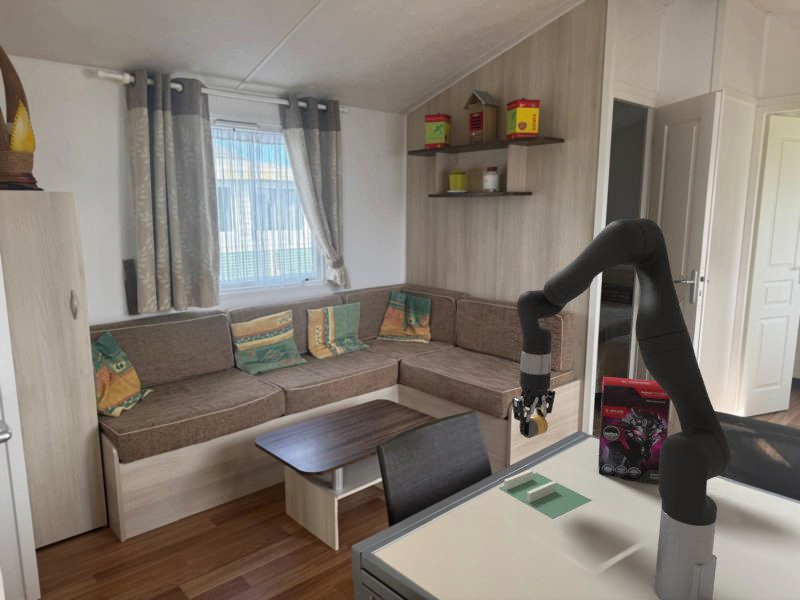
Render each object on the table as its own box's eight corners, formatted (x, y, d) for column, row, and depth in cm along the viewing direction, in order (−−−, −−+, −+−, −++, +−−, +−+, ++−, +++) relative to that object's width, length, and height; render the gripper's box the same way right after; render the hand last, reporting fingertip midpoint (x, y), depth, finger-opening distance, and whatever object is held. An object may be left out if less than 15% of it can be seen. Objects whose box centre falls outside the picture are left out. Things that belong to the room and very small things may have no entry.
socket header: (555, 491, 146) (556, 482, 146) (529, 502, 141) (529, 493, 140) (529, 478, 154) (530, 469, 153) (503, 488, 148) (504, 479, 147)
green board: (591, 502, 142) (591, 500, 142) (552, 521, 134) (552, 518, 134) (536, 475, 157) (536, 472, 157) (497, 490, 148) (498, 487, 148)
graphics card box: (597, 477, 156) (603, 382, 151) (596, 466, 163) (602, 375, 158) (664, 486, 151) (673, 389, 147) (660, 474, 158) (669, 381, 153)
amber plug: (546, 436, 144) (549, 419, 143) (532, 441, 141) (535, 424, 140) (532, 428, 148) (534, 411, 147) (518, 432, 145) (521, 415, 144)
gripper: (527, 377, 135) (524, 444, 137) (566, 367, 143) (562, 431, 146) (504, 369, 141) (501, 434, 143) (542, 360, 149) (539, 422, 152)
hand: (532, 432), depth 144 cm, fingers closed on amber plug, 5 cm apart
